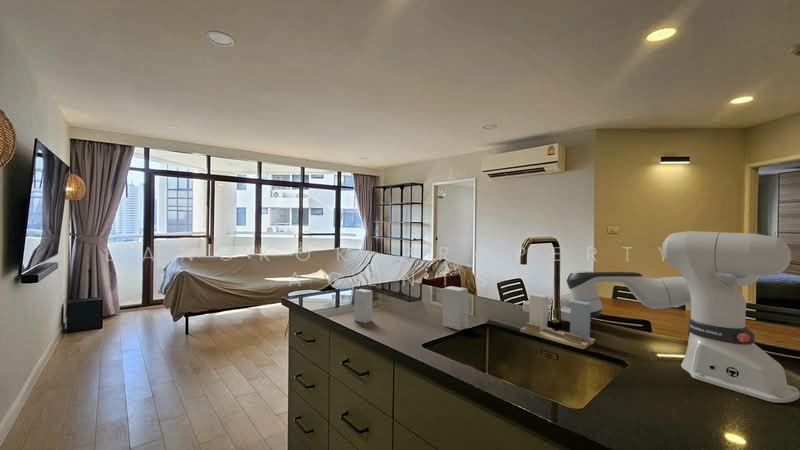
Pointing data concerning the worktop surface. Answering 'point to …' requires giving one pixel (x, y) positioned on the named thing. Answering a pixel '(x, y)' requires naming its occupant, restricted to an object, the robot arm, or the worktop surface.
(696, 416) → the worktop surface
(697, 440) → the worktop surface
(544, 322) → the ivory key
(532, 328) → the switch base
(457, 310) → the skincare box
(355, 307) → the skincare box
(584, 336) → the slate blue key
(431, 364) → the worktop surface
